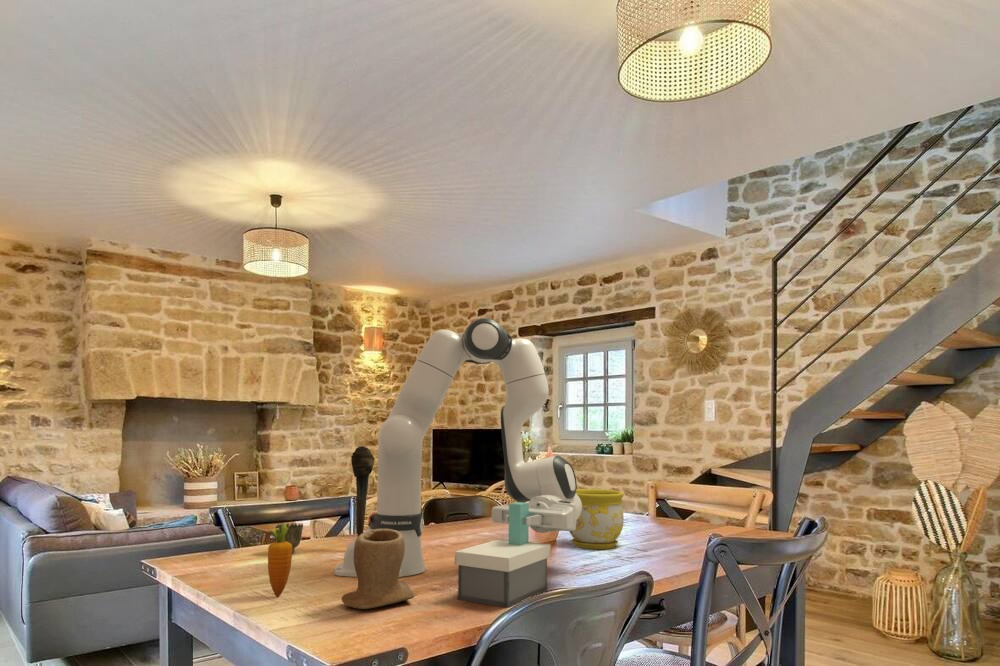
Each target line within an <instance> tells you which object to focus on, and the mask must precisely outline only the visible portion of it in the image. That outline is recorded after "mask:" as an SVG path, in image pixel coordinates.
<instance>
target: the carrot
mask: <svg viewBox="0 0 1000 666" xmlns="http://www.w3.org/2000/svg"><path fill="white" fill-rule="evenodd" d="M281 524H282V523H281ZM286 525H287V523H283V524H282V526H281V530H282V533H280V530H279V528H276V527H275V530H274V529H273V528H270V529H269V533H271V534H272V535H273V536H274V538H275V540H276V541H274V542H271V543H270V544H269V545H268V548H267V549H268V550H267V551H268V552H267V569H268V570H267V572H268V578H269V579H268V580H269V583H270V587H271V590H272V591H273V594H274V595H275V597H277V598H279V597H280V596H281V595H282V594H283V591H284V590H285V588H286V585H287V583H288V580H289V575H290V572H291V568H292V559H293V558H292V557H293V554H292V544H291V543H289V542H287V541H284V539H285V535H286V533H287V531H288V528H287V527H286ZM276 532H277V533H276Z"/></svg>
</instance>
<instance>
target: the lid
mask: <svg viewBox="0 0 1000 666" xmlns="http://www.w3.org/2000/svg"><path fill="white" fill-rule="evenodd" d="M508 505H509V524H508V539H504V538H498V539H495V540H491V541H488V542H485V543H481V544H480V543H479V544H477V545H474V546H470V547H466V548H463V549H458V550H456V551H454V565H456V566H459V565H462V566H469V567H476V568H484V569H491V570H498V571H505V572H510V571H513V570H515V569H518V568H521V567H524V566H526V565H529V564H532V563H535V562H537V561H540V560H543V559H546V558H547V559H549V558H551V543H541V542H532V541H531V542H530V541H529V534H530V533H529V527H530V526H529V525H523V517H525V516H529V502H525V503H523V502H517V501H516V502H510V503H508Z"/></svg>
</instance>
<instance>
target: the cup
mask: <svg viewBox="0 0 1000 666" xmlns="http://www.w3.org/2000/svg"><path fill="white" fill-rule="evenodd" d="M282 524H284V523H280V524H279V523H277V525H275V529H276V528H279V530H280V533H282V530H281V526H282ZM286 527H287V528H288V531H287V533H286V535H285V539H284V541H287V542H289V543H291V544H292V555H293V554H294V553H295V552H296V550H295V548H297V547H298V546H299V545H300V542H301V539H302V534H303V528H304V524H303V523H301V524H300V523H298V524H297V523H290V524H289V523H286ZM275 532H276V531H275ZM276 533H277V532H276Z"/></svg>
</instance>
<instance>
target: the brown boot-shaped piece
mask: <svg viewBox="0 0 1000 666" xmlns="http://www.w3.org/2000/svg"><path fill="white" fill-rule="evenodd" d="M356 538H357V539H356ZM356 538H355V539H356V541H355V546H354V558H353V559H354V566H355V571H356V574H357V577H356V579H357V589H356V590H353V591H350V592H346V593H344V594H343V595H342V596H341V598H340V600H341V602H342V603H344V605H346V606H348V607H350V608H354V609H358V610H367V609H368V610H369V609H374V608H380V607H384V606H388V605H392V604H397V603H400V602H404V601H408V600H412V599H414V597H415V593H414V591H413V589H412V588H411V586H409V583H408V581H406V580H399V578H400V577H399V572H400V568H401V564H402V561H403V557H404V552H405V543H404V537H403V535H402V534H401V533H400V532H398V531H396V530H392V529H374V530H371V531H369V532H367V533H364V532H363V533H362V534H360V535H359V536H358V535H357V537H356Z"/></svg>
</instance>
